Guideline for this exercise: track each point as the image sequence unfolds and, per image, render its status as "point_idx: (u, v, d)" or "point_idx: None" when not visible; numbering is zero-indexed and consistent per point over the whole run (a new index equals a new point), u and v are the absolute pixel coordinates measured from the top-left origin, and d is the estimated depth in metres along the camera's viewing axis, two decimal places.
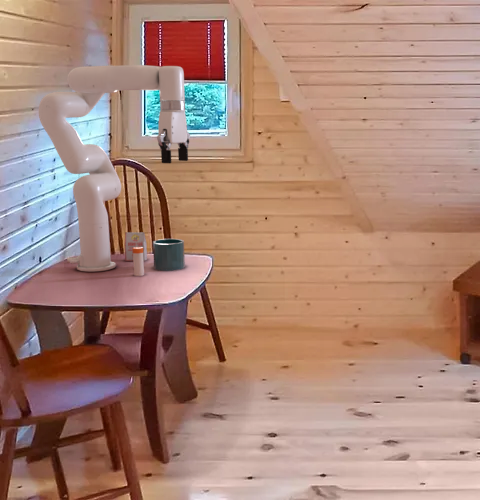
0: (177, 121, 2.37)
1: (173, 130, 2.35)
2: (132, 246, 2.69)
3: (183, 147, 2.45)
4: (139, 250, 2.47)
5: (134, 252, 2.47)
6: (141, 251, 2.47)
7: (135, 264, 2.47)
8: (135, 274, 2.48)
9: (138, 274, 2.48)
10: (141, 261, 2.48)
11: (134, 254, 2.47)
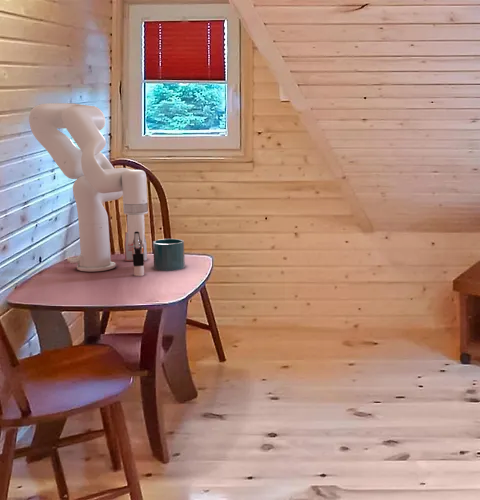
0: (144, 222, 2.46)
1: (143, 232, 2.44)
2: (132, 246, 2.69)
3: None
4: None
5: None
6: None
7: None
8: (135, 274, 2.48)
9: (138, 274, 2.48)
10: None
11: None
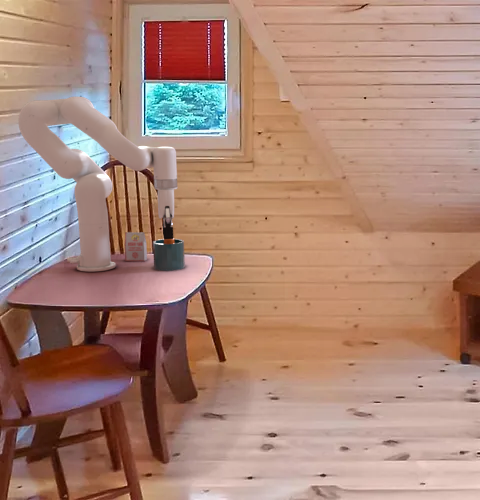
0: None
1: (173, 206, 2.54)
2: (132, 246, 2.69)
3: None
4: (170, 241, 2.58)
5: (166, 242, 2.58)
6: (172, 242, 2.58)
7: None
8: None
9: None
10: None
11: None
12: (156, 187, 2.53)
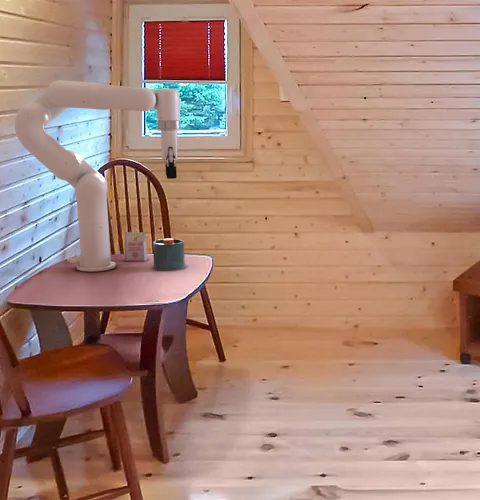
0: None
1: None
2: (132, 246, 2.69)
3: None
4: (170, 241, 2.58)
5: (165, 243, 2.58)
6: (172, 242, 2.58)
7: None
8: None
9: None
10: None
11: None
12: (159, 128, 2.54)
